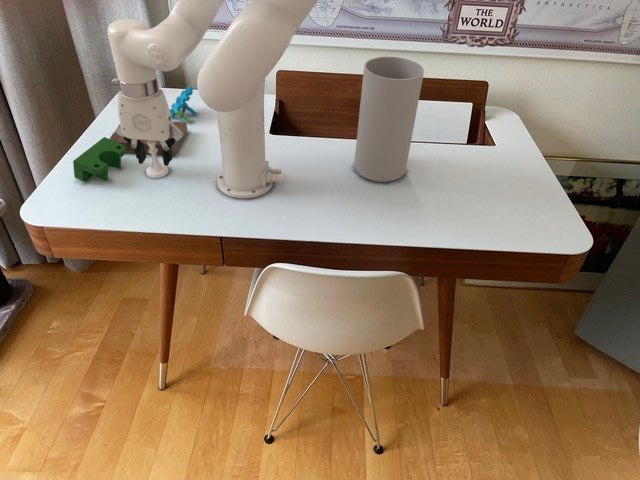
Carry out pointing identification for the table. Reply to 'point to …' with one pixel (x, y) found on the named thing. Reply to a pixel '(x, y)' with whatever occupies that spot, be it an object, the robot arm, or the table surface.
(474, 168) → the table surface
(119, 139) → the pad
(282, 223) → the table surface
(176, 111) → the blue slotted cogwheel
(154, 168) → the chess piece
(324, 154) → the table surface
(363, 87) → the cylinder vase
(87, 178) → the clamp
